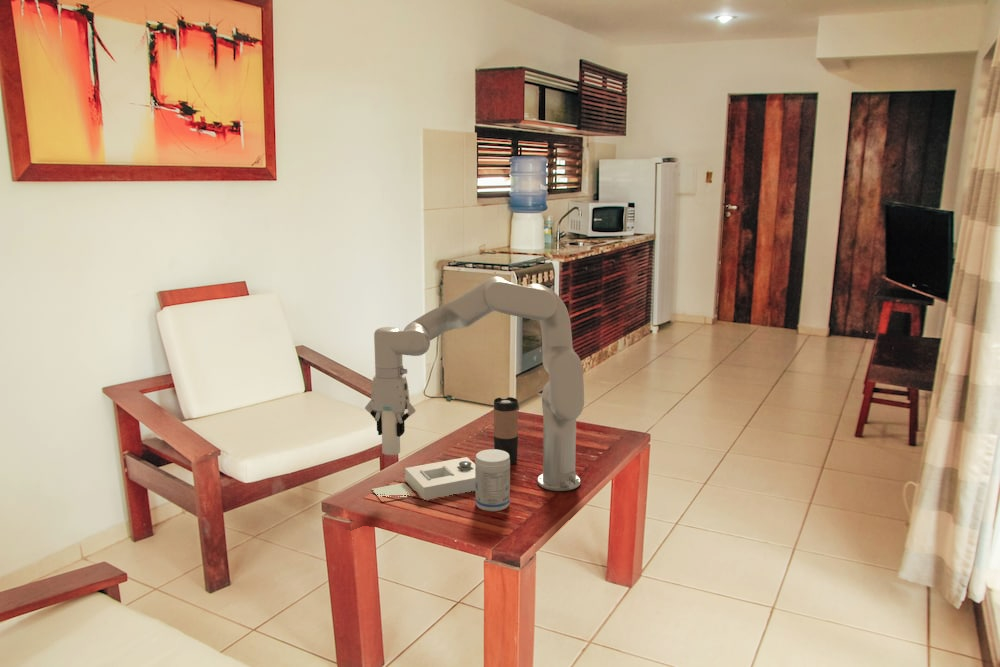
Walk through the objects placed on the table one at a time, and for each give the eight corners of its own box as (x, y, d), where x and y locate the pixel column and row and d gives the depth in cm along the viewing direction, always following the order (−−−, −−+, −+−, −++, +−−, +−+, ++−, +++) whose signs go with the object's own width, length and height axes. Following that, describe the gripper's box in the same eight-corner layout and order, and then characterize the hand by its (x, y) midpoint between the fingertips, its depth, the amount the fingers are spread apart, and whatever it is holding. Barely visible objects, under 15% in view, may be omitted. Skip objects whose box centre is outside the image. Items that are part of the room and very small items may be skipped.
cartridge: (403, 449, 217) (402, 402, 214) (396, 456, 212) (395, 407, 209) (386, 448, 218) (385, 401, 215) (379, 454, 213) (377, 406, 210)
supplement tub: (474, 498, 214) (473, 449, 211) (508, 497, 215) (507, 447, 212) (476, 513, 204) (476, 462, 201) (511, 512, 205) (511, 460, 202)
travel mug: (508, 467, 237) (508, 405, 233) (489, 461, 241) (488, 401, 237) (522, 459, 243) (522, 399, 238) (503, 454, 247) (503, 395, 243)
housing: (488, 487, 221) (488, 474, 220) (424, 501, 212) (423, 486, 212) (466, 469, 235) (466, 456, 234) (405, 480, 226) (404, 467, 226)
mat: (415, 496, 215) (415, 495, 215) (381, 503, 211) (381, 502, 211) (404, 483, 224) (404, 482, 224) (371, 489, 220) (371, 488, 220)
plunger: (473, 479, 225) (473, 464, 224) (462, 481, 224) (461, 466, 223) (468, 475, 228) (468, 460, 228) (457, 477, 227) (457, 462, 226)
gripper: (422, 370, 212) (423, 432, 216) (366, 366, 216) (368, 427, 220) (413, 377, 205) (414, 441, 208) (354, 373, 209) (357, 436, 212)
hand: (390, 433), depth 214 cm, fingers closed on cartridge, 5 cm apart
